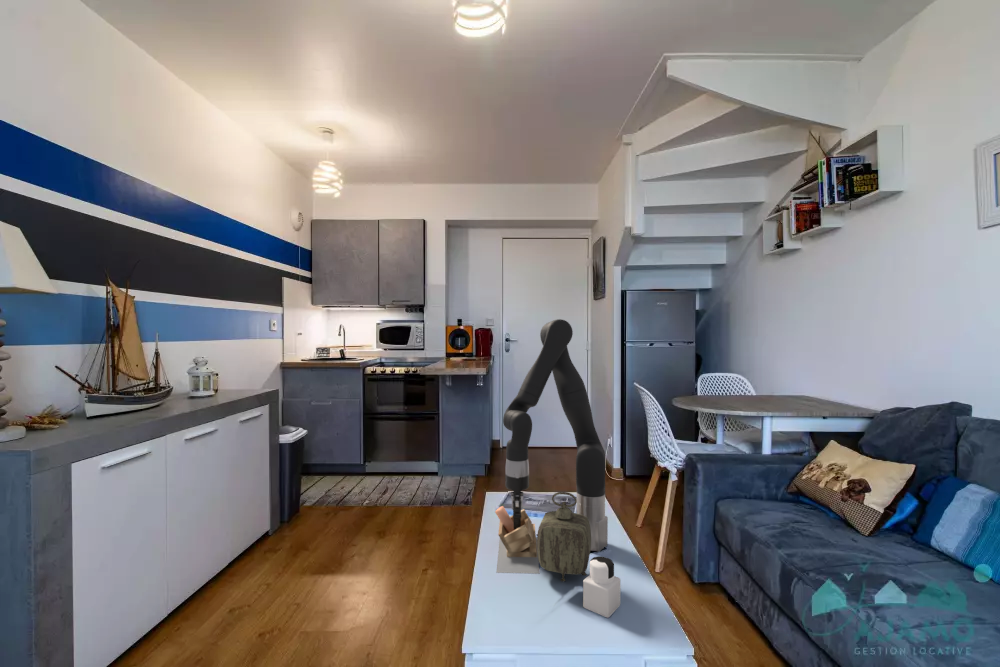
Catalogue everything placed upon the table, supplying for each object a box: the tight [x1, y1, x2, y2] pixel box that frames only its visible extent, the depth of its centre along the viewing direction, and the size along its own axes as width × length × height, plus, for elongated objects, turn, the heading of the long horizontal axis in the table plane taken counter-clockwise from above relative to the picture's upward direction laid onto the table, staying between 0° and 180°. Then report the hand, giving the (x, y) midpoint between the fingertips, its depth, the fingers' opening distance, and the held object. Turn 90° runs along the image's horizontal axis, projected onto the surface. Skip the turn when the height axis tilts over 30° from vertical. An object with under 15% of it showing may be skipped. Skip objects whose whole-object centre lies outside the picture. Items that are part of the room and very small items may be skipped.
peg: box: [494, 505, 514, 533], centre depth 148 cm, size 3×3×11 cm
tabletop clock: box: [536, 491, 591, 582], centre depth 131 cm, size 14×9×25 cm, turn 74°
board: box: [495, 536, 541, 575], centre depth 144 cm, size 23×12×1 cm, turn 177°
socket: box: [498, 508, 537, 557], centre depth 148 cm, size 12×13×10 cm
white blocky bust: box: [582, 555, 621, 619], centre depth 119 cm, size 7×7×12 cm
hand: (517, 524), depth 148 cm, fingers open, 5 cm apart
